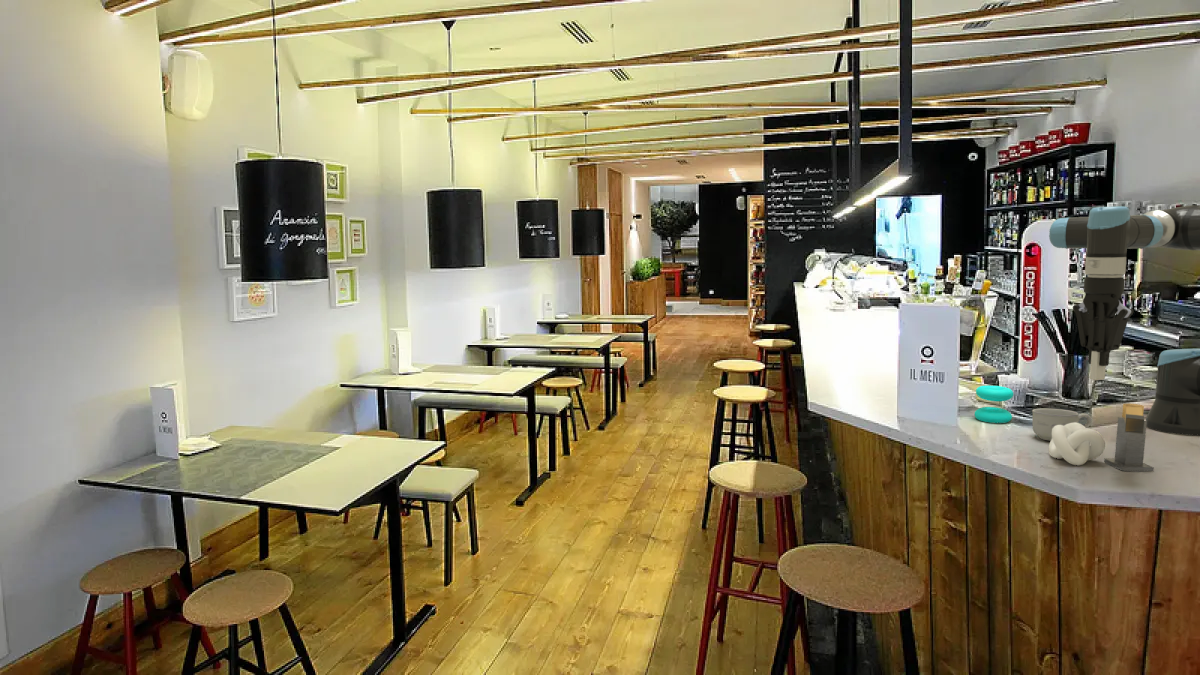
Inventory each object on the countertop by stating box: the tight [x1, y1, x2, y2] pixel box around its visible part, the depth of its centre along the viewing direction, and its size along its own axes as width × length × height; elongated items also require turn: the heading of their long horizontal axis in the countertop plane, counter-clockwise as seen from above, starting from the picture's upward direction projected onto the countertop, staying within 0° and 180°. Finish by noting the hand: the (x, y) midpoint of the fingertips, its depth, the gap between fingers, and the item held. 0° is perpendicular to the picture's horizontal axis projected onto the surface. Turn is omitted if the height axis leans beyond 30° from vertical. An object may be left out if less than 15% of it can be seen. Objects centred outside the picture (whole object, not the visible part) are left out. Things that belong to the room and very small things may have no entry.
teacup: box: [1032, 408, 1093, 442], centre depth 198 cm, size 14×11×8 cm
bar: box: [1121, 403, 1145, 434], centre depth 167 cm, size 18×4×3 cm, turn 145°
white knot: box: [1048, 422, 1106, 466], centre depth 179 cm, size 11×12×9 cm
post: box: [1103, 416, 1155, 472], centre depth 174 cm, size 7×7×12 cm
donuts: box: [974, 384, 1014, 424], centre depth 221 cm, size 10×10×10 cm
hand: (1097, 379), depth 168 cm, fingers closed
